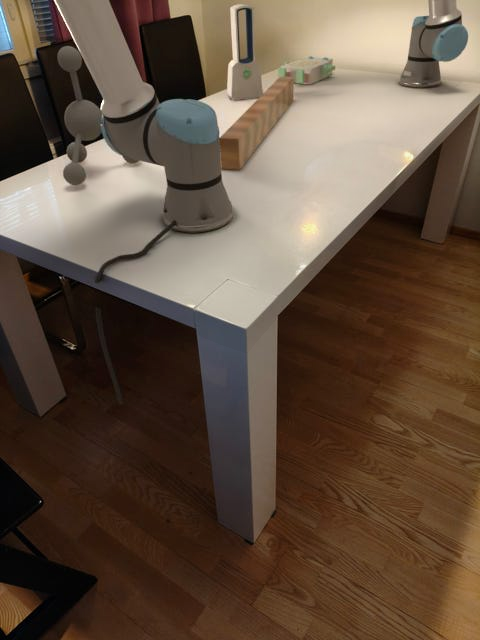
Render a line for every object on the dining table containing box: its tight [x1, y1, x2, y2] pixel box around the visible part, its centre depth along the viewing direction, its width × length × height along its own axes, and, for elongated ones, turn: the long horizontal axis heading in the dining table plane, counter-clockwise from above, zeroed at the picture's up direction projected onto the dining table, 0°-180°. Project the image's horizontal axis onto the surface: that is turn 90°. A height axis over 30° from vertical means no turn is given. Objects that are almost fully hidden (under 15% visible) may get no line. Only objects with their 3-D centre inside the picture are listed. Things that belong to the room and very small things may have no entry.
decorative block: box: [277, 55, 336, 85], centre depth 206 cm, size 26×6×20 cm
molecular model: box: [57, 45, 140, 186], centre depth 125 cm, size 24×22×30 cm
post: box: [219, 77, 295, 171], centre depth 153 cm, size 70×5×8 cm, turn 164°
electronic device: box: [226, 3, 264, 101], centre depth 179 cm, size 12×8×30 cm, turn 105°
